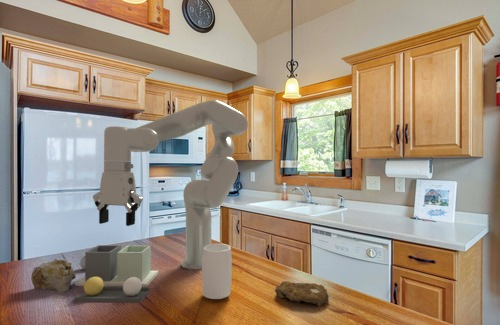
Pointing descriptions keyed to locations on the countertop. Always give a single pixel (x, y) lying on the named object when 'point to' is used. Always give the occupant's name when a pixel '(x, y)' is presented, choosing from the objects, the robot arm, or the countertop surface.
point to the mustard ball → (93, 286)
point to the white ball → (132, 286)
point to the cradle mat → (113, 295)
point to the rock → (53, 275)
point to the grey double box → (118, 264)
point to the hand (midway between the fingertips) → (116, 223)
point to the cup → (216, 271)
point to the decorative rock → (303, 292)
